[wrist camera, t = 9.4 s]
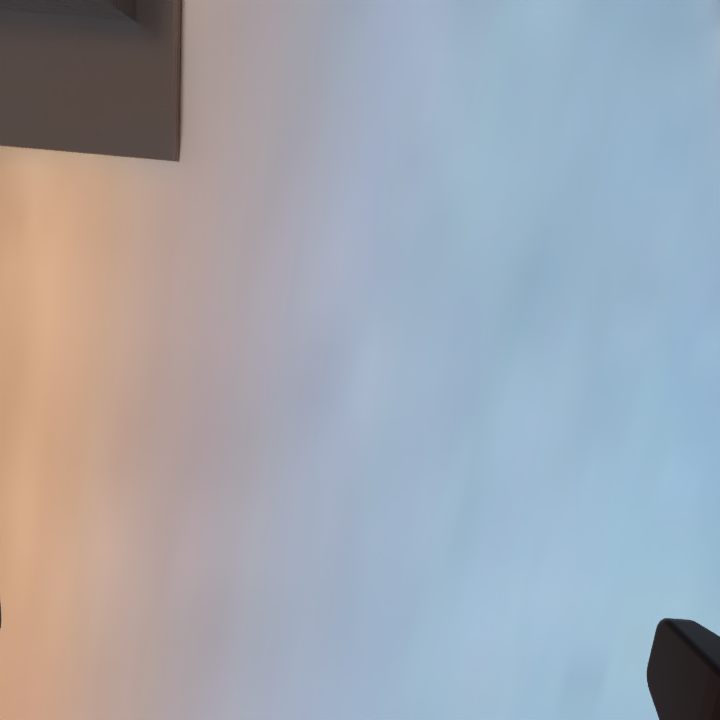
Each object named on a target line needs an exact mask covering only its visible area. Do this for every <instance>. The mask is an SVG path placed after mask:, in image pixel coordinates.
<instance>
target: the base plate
mask: <svg viewBox="0 0 720 720" xmlns="http://www.w3.org/2000/svg"><path fill="white" fill-rule="evenodd" d="M180 55H181V0H0V146H10V147H22V148H33V149H44V150H55V151H66V152H78V153H89V154H100V155H111V156H122V157H134V158H145V159H156V160H167V161H178V162H179V122H180Z"/></svg>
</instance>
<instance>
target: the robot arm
mask: <svg viewBox="0 0 720 720" xmlns="http://www.w3.org/2000/svg"><path fill="white" fill-rule="evenodd" d="M0 628H1V605H0ZM647 682H648V687H649V691H650V694H651V697H652V699H653V702H654V705H655V708H656V711H657V714H658V717H659V720H720V637H719V636H718V635H716V634H715V633H713V632H711V631H710V630H708V629H706V628H705V627H703V626H701V625H700V624H698V623H696V622H695V621H692V620H685V619H671V618H664V619H663V620H661V621H660V622H659V624H658V625H657V628H656V632H655V636H654V641H653V645H652V649H651V653H650V658H649V662H648V666H647Z"/></svg>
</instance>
